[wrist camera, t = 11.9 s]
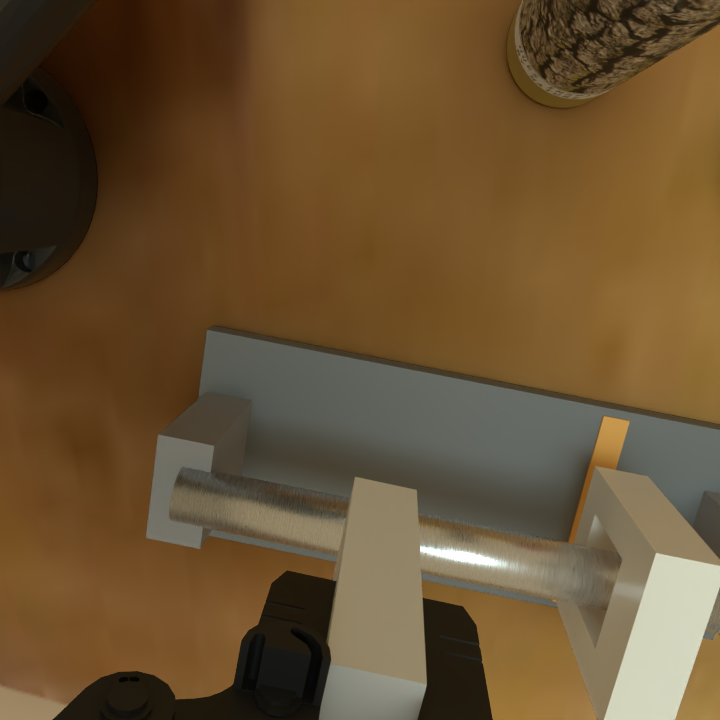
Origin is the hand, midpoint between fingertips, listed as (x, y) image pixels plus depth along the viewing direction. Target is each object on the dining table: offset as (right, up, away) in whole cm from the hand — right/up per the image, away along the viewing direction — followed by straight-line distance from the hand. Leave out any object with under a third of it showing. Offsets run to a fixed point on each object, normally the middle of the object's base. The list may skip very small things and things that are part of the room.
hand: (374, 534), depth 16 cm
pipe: (+6, -6, +21) cm, 22 cm away
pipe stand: (+7, -4, +29) cm, 30 cm away
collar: (+14, -6, +23) cm, 28 cm away
